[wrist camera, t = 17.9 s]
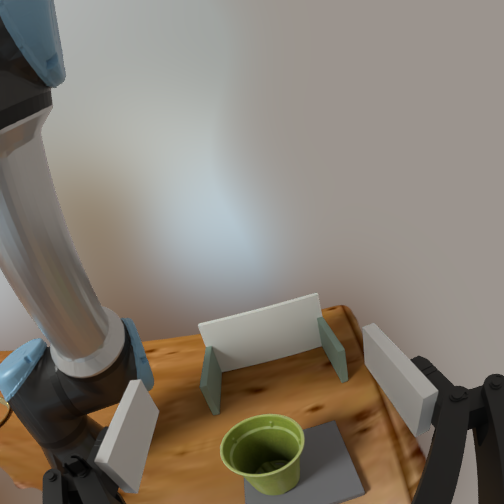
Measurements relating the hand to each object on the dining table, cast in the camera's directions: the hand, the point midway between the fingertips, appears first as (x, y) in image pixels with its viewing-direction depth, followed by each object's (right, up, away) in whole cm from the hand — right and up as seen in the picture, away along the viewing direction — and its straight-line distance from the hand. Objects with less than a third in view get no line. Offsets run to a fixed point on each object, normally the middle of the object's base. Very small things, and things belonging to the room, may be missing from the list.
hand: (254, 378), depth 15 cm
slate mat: (+6, -22, +14) cm, 26 cm away
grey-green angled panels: (+4, -17, +37) cm, 41 cm away
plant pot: (+3, -22, +13) cm, 26 cm away
